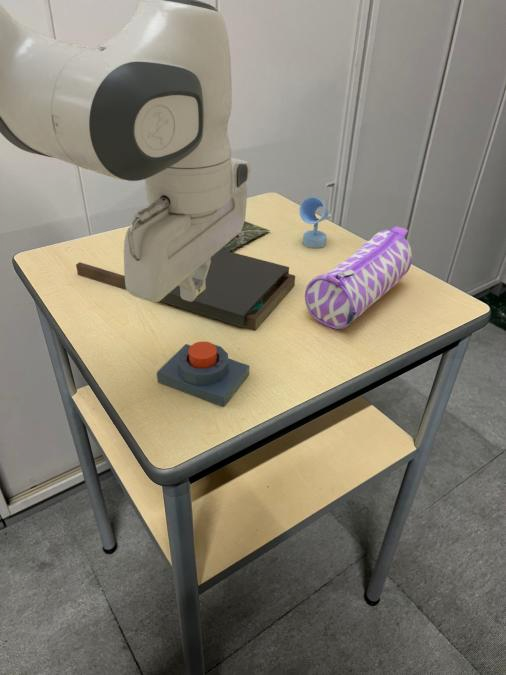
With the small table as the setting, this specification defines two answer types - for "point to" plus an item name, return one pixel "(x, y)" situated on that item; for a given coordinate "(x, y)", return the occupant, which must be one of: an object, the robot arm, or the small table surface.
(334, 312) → the pencil case
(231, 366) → the button block
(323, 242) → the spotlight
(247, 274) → the lid
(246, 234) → the eiffel tower figurine
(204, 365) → the button
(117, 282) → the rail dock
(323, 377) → the small table surface
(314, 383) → the small table surface
